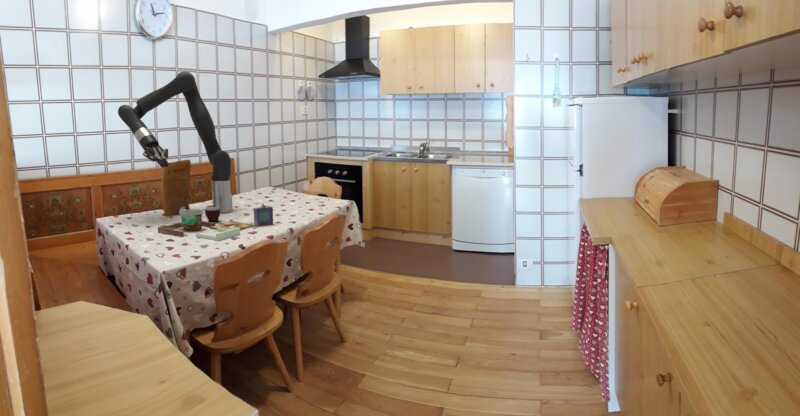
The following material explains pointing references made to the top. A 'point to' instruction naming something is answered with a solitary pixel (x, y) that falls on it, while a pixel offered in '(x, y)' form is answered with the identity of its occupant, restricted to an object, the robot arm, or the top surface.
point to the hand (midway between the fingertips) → (165, 166)
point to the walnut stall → (169, 228)
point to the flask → (263, 215)
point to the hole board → (234, 223)
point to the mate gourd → (213, 212)
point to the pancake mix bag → (176, 187)
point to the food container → (191, 219)
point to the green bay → (221, 234)
